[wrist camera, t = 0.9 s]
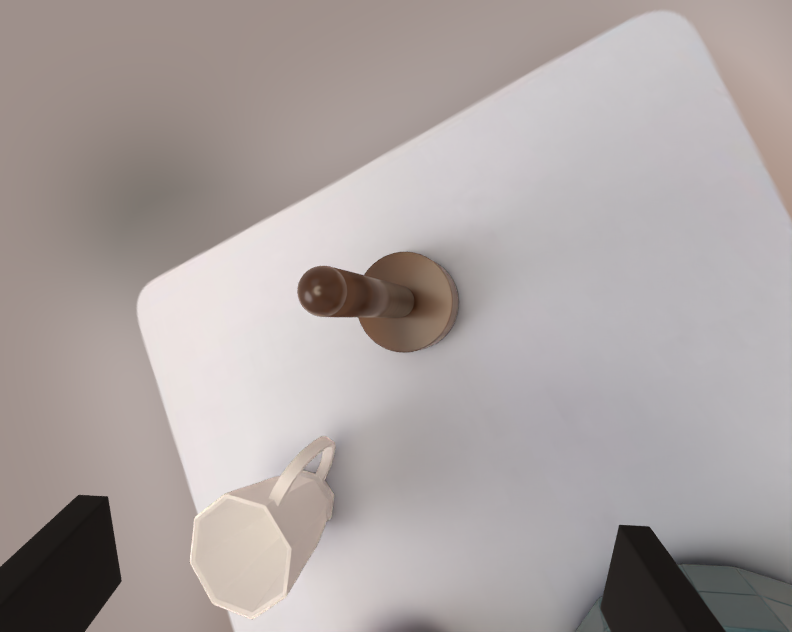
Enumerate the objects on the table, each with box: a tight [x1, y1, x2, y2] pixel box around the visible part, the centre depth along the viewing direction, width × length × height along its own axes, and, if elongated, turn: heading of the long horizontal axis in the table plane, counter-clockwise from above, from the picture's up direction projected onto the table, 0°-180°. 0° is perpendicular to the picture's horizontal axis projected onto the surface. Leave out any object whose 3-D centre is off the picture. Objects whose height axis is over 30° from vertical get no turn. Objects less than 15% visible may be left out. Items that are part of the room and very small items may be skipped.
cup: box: [190, 436, 336, 620], centre depth 28 cm, size 7×10×8 cm
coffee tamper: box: [297, 252, 459, 352], centre depth 23 cm, size 6×6×14 cm
